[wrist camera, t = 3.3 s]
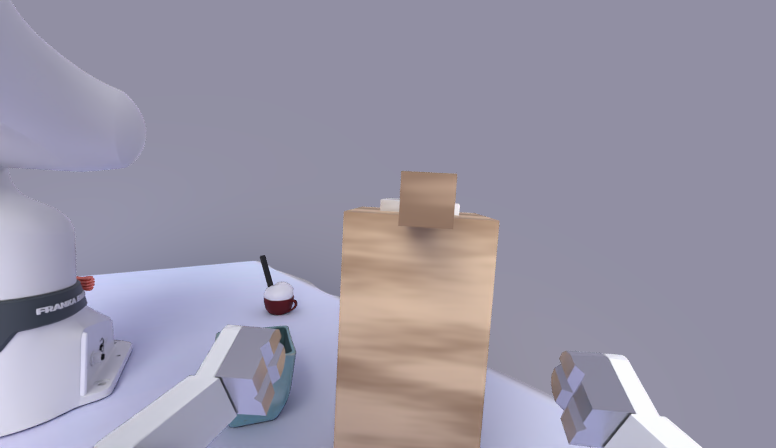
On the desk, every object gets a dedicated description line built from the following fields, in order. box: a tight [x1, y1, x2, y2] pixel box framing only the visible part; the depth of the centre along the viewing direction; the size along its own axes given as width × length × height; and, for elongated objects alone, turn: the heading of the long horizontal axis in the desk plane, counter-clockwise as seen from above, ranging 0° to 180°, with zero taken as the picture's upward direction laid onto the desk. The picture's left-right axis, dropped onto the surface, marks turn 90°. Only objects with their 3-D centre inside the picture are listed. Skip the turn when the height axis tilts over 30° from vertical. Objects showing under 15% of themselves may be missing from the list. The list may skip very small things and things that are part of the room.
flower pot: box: [215, 326, 296, 427], centre depth 42 cm, size 9×9×9 cm
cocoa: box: [260, 255, 297, 315], centre depth 76 cm, size 10×6×12 cm, turn 48°
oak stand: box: [334, 207, 499, 448], centre depth 33 cm, size 10×12×26 cm
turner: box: [380, 171, 460, 229], centre depth 29 cm, size 23×7×3 cm, turn 176°
